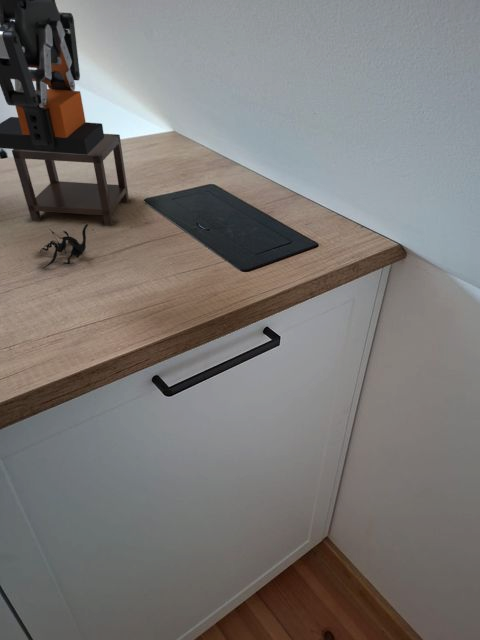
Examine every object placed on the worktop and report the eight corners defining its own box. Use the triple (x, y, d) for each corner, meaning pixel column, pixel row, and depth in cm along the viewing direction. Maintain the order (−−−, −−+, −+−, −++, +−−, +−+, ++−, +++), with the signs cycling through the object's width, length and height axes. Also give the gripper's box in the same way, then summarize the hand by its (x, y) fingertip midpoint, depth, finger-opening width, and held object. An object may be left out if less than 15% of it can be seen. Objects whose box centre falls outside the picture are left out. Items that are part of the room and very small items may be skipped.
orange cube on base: (-11, 147, 49) (-26, 99, 46) (14, 131, 54) (2, 85, 51) (87, 154, 49) (78, 106, 46) (104, 137, 53) (97, 92, 50)
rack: (31, 221, 85) (11, 150, 77) (56, 196, 93) (40, 129, 85) (111, 226, 84) (99, 155, 76) (129, 200, 93) (119, 134, 85)
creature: (32, 274, 74) (78, 271, 72) (14, 242, 70) (62, 237, 68) (58, 250, 80) (101, 245, 78) (43, 219, 76) (87, 214, 74)
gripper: (7, -77, 46) (49, 117, 57) (-88, -81, 35) (-13, 160, 46) (86, -72, 45) (113, 121, 56) (16, -75, 35) (67, 165, 45)
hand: (57, 137), depth 51 cm, fingers closed on orange cube on base, 5 cm apart
